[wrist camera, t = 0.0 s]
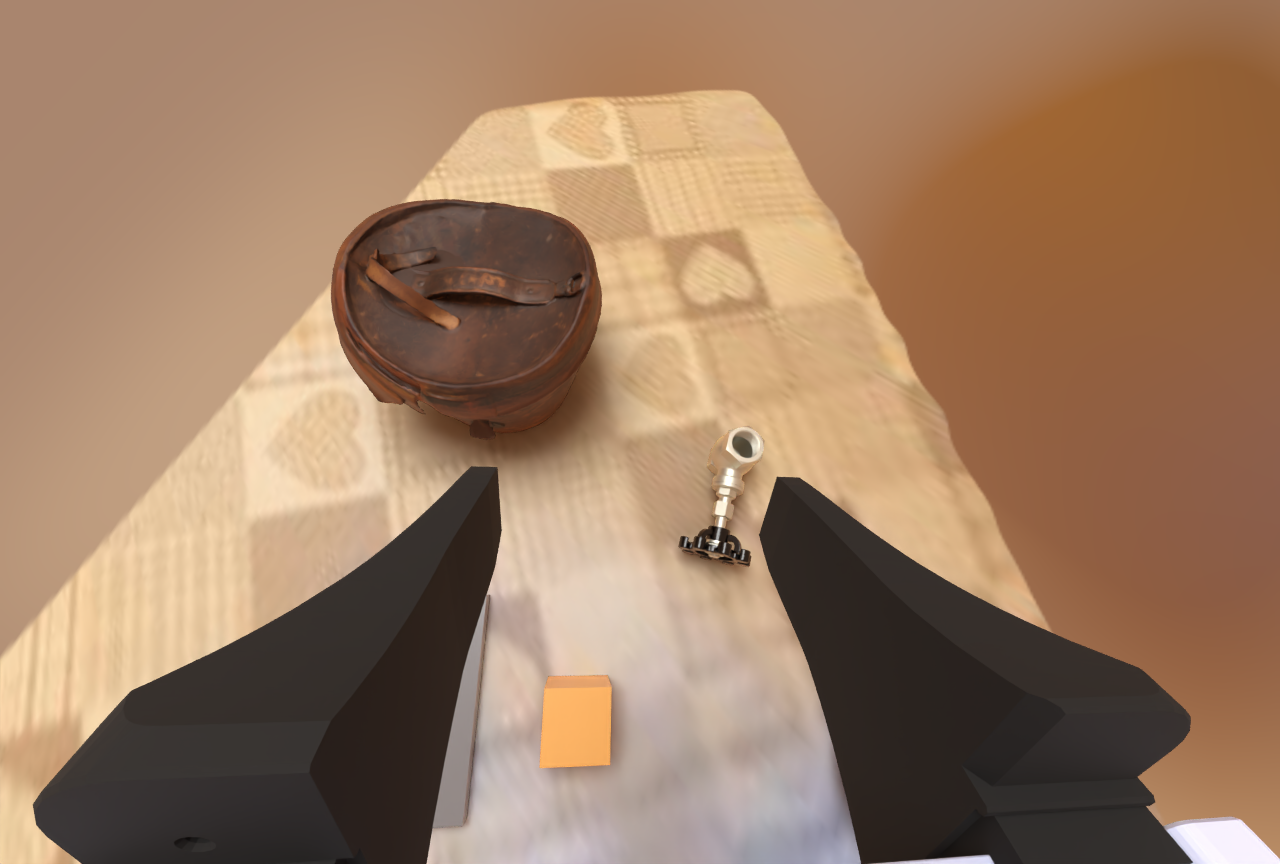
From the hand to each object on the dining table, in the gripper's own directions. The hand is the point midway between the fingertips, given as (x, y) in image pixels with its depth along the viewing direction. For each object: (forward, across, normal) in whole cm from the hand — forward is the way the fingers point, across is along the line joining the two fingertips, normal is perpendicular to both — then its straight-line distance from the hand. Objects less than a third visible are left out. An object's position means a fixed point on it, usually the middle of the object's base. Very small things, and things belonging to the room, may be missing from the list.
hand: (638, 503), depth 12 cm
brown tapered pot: (+35, +10, +13) cm, 39 cm away
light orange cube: (+12, +1, +32) cm, 34 cm away
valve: (+26, -12, +20) cm, 35 cm away
